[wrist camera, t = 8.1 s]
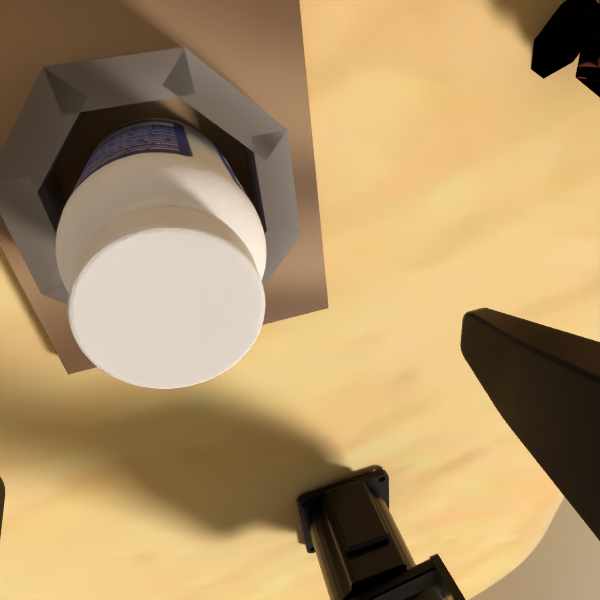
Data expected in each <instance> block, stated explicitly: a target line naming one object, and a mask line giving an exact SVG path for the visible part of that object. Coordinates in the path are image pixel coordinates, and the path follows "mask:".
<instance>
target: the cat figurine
mask: <svg viewBox="0 0 600 600" xmlns="http://www.w3.org/2000/svg"><path fill="white" fill-rule="evenodd" d="M579 53H580V57H579V62H578V67H577V72H576V78H577V79H578V80H580V81H581V82H582V83H583V84H584V85H586V86H587V87H588V88H589V89H590V90H592V91H593V92H594V93H595V94H596V95H598V96H599V97H600V4H598V3H597V2H596V1H595V0H566V1H565V2H564V3H563V4H561V5H560V7H559V8H558V9H557V11H556V12H555V14H554V15H553V16H552V18H551V19H550V20H549V22H548V23H547V24H546V26H545V27H544V28H543V30H542V31H541V32H540V34H539V35H538V36H537V38H536V39H535V40H534V49H533V59H532V68H531V69H532V70H533V71H534V72H536V73H537V74H538V75H540V76H541V77H542V78H545V77H547V76H549V75H551V74H553V73H554V72H556V71H558V70H560V69H561V68H563V67H565V66H567V65H568V64H570V63H572V62H573V61H574V60H575V58H576V57H577V56H578V54H579Z"/></svg>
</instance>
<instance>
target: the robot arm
mask: <svg viewBox="0 0 600 600" xmlns="http://www.w3.org/2000/svg"><path fill="white" fill-rule="evenodd" d="M461 351H462V354H463V356H464V358H465V360H466V361H467V363H468V364H469V366H470V367H471V369H472V371H473V372H474V374H475V375H476V377H477V378H478V380H479V382H480V383H481V385H482V386H483V388H484V390H485V391H486V393H487V394H488V396H489V397H490V399H491V401H492V402H493V404H494V405H495V407H496V408H497V410H498V411H499V413H500V414H501V416H502V417H503V419H504V420H505V421H506V423H507V424H508V425H509V427H510V428H511V429H512V430H513V432H514V433H515V434H516V436H517V437H518V438H519V439H520V441H521V442H522V443H523V444H524V446H525V447H526V448H527V449H528V451H529V452H530V453H531V454H532V456H533V457H534V458H535V460H536V461H537V462H538V463H539V465H540V466H541V467H542V468H543V470H544V471H545V472H546V473H547V475H548V476H549V477H550V479H551V480H552V481H553V482H554V484H555V485H556V486H557V487H558V489H559V490H560V491H561V492H562V494H563V495H564V496H565V498H566V499H567V500H568V501H569V503H570V504H571V505H572V506H573V507H574V509H575V510H576V511H577V513H578V514H579V515H580V516H581V518H582V519H583V520H584V522H585V523H586V524H587V525H588V527H589V528H590V529H591V530H592V532H593V533H594V534H595V535H596V537H597V538H598V539H599V541H600V342H597V341H594V340H591V339H588V338H584V337H581V336H578V335H574V334H571V333H568V332H564V331H561V330H558V329H554V328H551V327H548V326H544V325H541V324H538V323H535V322H531V321H528V320H525V319H521V318H518V317H515V316H511V315H508V314H505V313H501V312H498V311H495V310H492V309H488V308H480V309H476V310H473V311H469V312H467V313H465V315H464V317H463V321H462V333H461ZM4 500H5V486H4V483H3V480H2V479H1V477H0V537H1V528H2V519H3V509H4ZM297 506H298V511H299V516H300V521H301V526H302V531H303V536H304V541H305V546H306V549H307V552H308V553H315V552H316V555H317V558H318V561H319V564H320V568H321V571H322V574H323V577H324V580H325V584H326V587H327V590H328V593H329V597H330V600H443V599H444V600H465V598H464V596H463V595H462V593H461V591H460V590H459V588H458V586H457V585H456V583H455V581H454V580H453V578H452V577H451V575H450V573H449V572H448V570H447V568H446V567H445V565H444V563H443V562H442V560H441V558H440V557H439V555H438V554H435V555H433V556H431V557H430V559H429V560H427V561H424V562H422V563H420V564H418V565H416V564H415V562H414V560H413V558H412V556H411V554H410V552H409V550H408V548H407V546H406V544H405V542H404V540H403V538H402V536H401V534H400V532H399V530H398V528H397V526H396V524H395V522H394V520H393V518H392V516H391V514H390V512H389V477H388V474H387V472H386V471H385V470H378V471H375V472H372V473H369V474H366V475H363V476H360V477H357V478H354V479H351V480H348V481H344V482H341V483H338V484H335V485H332V486H329V487H326V488H323V489H320V490H317V491H314V492H311V493H308V494H305V495H302V496H300V497H299V498H298V499H297Z"/></svg>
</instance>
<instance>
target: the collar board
mask: <svg viewBox="0 0 600 600" xmlns="http://www.w3.org/2000/svg"><path fill="white" fill-rule="evenodd" d="M146 118H164V119H170V120H174V121H178V122H181V123H184V124H187V125H189V126H191V127H193V128H194V129H196V130H198V131H199V132H201V133H202V134H203V135H205V136H206V137H207V138H208V139H209V140H210V141H212V142H213V143H214V144H215V146H216V147H217V148H218V149H219V150H220V152H221V153H222V154H223V156H224V157H225V159H226V160H227V162H228V164H229V165H230V167H231V169H232V171H233V173H234V174H235V176H236V178H237V180H238V181H239V183H240V185H241V186H242V188H243V189H244V191H245V193H246V194H247V196H248V197H249V199H250V201H251V202H252V204H253V206H254V208H255V210H256V212H257V214H258V216H259V219H260V221H261V224H262V227H263V230H264V235H265V240H266V266H265V271H264V275H263V278H262V284H263V289H264V294H265V314H264V320H263V323H262V325H264V324H267V323H271V322H275V321H279V320H283V319H287V318H291V317H295V316H299V315H303V314H307V313H311V312H314V311H318V310H322V309H326V308H328V298H327V287H326V277H325V266H324V256H323V245H322V235H321V224H320V214H319V203H318V193H317V182H316V172H315V161H314V151H313V140H312V130H311V120H310V109H309V99H308V88H307V78H306V67H305V57H304V46H303V36H302V25H301V15H300V4H299V0H0V247H1V249H2V251H3V253H4V254H5V256H6V258H7V260H8V262H9V264H10V266H11V268H12V270H13V271H14V273H15V275H16V277H17V279H18V281H19V283H20V285H21V286H22V288H23V290H24V292H25V294H26V296H27V298H28V300H29V302H30V303H31V305H32V307H33V309H34V311H35V313H36V315H37V317H38V319H39V320H40V322H41V324H42V326H43V328H44V330H45V332H46V334H47V335H48V337H49V339H50V341H51V343H52V345H53V347H54V349H55V351H56V352H57V354H58V356H59V358H60V360H61V362H62V364H63V366H64V368H65V369H66V371H67V373H68V374H71V373H75V372H79V371H83V370H87V369H91V368H95V367H97V366H96V365H94V364H93V363H92V362H91V360H90V359H89V358H88V357H87V356H86V355H85V354H84V353H83V352H82V350H81V349H80V347H79V346H78V344H77V342H76V340H75V339H74V336H73V334H72V332H71V328H70V324H69V320H68V296H69V293H68V291H67V290H66V288H65V286H64V284H63V281H62V279H61V276H60V273H59V269H58V265H57V259H56V234H57V228H58V225H59V221H60V217H61V215H62V212H63V209H64V207H65V204H66V202H67V201H68V199H69V197H70V195H71V193H72V191H73V190H74V188H75V186H76V184H77V182H78V180H79V178H80V176H81V174H82V172H83V170H84V169H85V166H86V164H87V162H88V160H89V158H90V156H91V155H92V153H93V151H94V150H95V148H96V147H97V146H98V144H99V143H100V142H101V141H102V140H103V139H104V138H105V137H106V136H107V135H108V134H109V133H110V132H112V131H113V130H115V129H116V128H118V127H120V126H122V125H124V124H126V123H128V122H131V121H135V120H139V119H146Z"/></svg>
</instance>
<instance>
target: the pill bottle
mask: <svg viewBox="0 0 600 600" xmlns="http://www.w3.org/2000/svg"><path fill="white" fill-rule="evenodd" d="M56 259H57V265H58V269H59V273H60V276H61V279H62V281H63V284H64V286H65V288H66V290H67V291H68V293H69V296H68V320H69V324H70V328H71V332H72V334H73V336H74V339H75V340H76V342H77V344H78V346H79V347H80V349H81V350H82V352H83V353H84V354H85V355H86V356H87V357H88V358H89V359H90V360H91V362H92V363H93V364H94V365H96V366H97V367H98V368H100V369H101V370H102V371H104V372H105V373H107V374H109V375H110V376H112V377H114V378H116V379H118V380H121V381H124V382H126V383H129V384H133V385H136V386H139V387H148V388H156V389H173V388H181V387H187V386H191V385H195V384H198V383H203V382H205V381H207V380H210V379H212V378H214V377H216V376H218V375H220V374H222V373H224V372H225V371H227V370H228V369H230V368H231V367H232V366H234V365H235V364H236V363H237V362H238V361H239V360H240V359H241V358H242V357H243V356H244V355H245V354H246V353H247V352H248V351H249V349H250V348H251V347H252V345H253V344H254V342H255V340H256V339H257V337H258V334H259V333H260V330H261V327H262V323H263V320H264V314H265V294H264V289H263V284H262V278H263V275H264V271H265V266H266V240H265V235H264V230H263V227H262V224H261V221H260V219H259V216H258V214H257V212H256V210H255V208H254V206H253V204H252V202H251V201H250V199H249V197H248V196H247V194H246V193H245V191H244V189H243V188H242V186H241V185H240V183H239V181H238V180H237V178H236V176H235V174H234V173H233V171H232V169H231V167H230V165H229V164H228V162H227V160H226V159H225V157H224V156H223V154H222V153H221V152H220V150H219V149H218V148H217V147H216V146H215V144H214V143H213V142H212V141H210V140H209V139H208V138H207V137H206V136H205V135H203V134H202V133H201V132H199V131H198V130H196V129H194V128H193V127H191V126H189V125H187V124H184V123H181V122H178V121H174V120H170V119H164V118H146V119H139V120H135V121H131V122H128V123H126V124H124V125H122V126H120V127H118V128H116V129H115V130H113V131H112V132H110V133H109V134H108V135H107V136H106V137H105V138H104V139H103V140H102V141H101V142H100V143H99V144H98V146H97V147H96V148H95V150H94V151H93V153H92V155H91V156H90V158H89V160H88V162H87V164H86V166H85V169H84V170H83V172H82V174H81V176H80V178H79V180H78V182H77V184H76V186H75V188H74V190H73V191H72V193H71V195H70V197H69V199H68V201H67V202H66V204H65V207H64V209H63V212H62V215H61V217H60V221H59V225H58V228H57V234H56Z"/></svg>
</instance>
